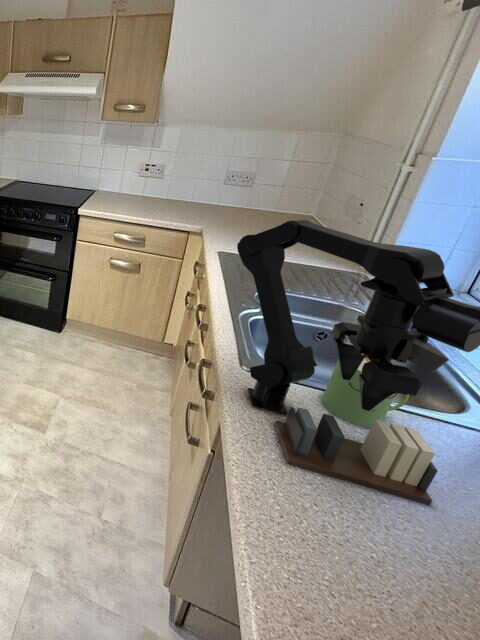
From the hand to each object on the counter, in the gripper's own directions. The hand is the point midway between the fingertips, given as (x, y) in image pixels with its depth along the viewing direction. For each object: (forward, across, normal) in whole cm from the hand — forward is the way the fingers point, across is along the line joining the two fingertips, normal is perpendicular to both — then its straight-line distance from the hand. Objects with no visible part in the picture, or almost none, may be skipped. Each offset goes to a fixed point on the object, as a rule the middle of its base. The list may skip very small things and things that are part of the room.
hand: (355, 393), depth 76 cm
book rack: (+13, -3, -1) cm, 13 cm away
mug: (+13, +15, -9) cm, 22 cm away
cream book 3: (+12, -3, -9) cm, 15 cm away
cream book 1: (+12, -3, -5) cm, 13 cm away
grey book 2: (+12, -3, +2) cm, 12 cm away
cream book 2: (+12, -3, -7) cm, 14 cm away
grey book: (+12, -3, +6) cm, 14 cm away
